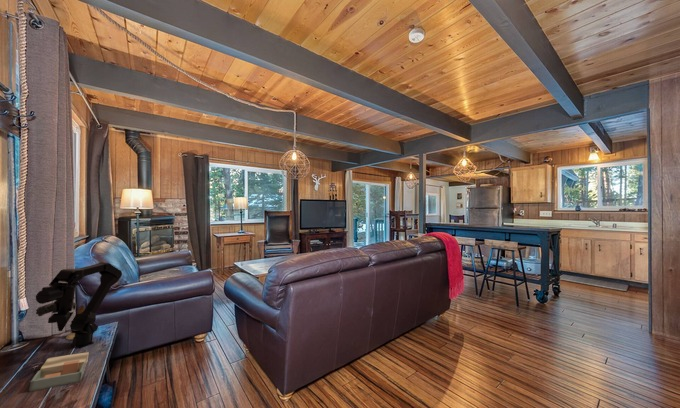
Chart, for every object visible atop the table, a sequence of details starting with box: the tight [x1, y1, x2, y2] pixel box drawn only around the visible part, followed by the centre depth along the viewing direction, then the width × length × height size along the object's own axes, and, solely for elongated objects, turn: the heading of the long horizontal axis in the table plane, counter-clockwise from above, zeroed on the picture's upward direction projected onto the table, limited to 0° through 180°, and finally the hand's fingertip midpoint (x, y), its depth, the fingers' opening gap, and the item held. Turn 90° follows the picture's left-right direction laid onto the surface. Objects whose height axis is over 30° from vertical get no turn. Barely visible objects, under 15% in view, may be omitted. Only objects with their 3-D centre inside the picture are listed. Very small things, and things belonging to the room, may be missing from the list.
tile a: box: [62, 360, 79, 375], centre depth 110 cm, size 4×4×2 cm
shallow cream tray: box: [39, 351, 90, 378], centre depth 113 cm, size 9×13×4 cm
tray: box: [28, 363, 87, 393], centre depth 106 cm, size 8×14×4 cm, turn 125°
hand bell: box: [65, 305, 85, 341], centre depth 141 cm, size 8×8×16 cm
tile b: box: [44, 372, 61, 378], centre depth 104 cm, size 4×4×2 cm
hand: (60, 330), depth 122 cm, fingers closed
